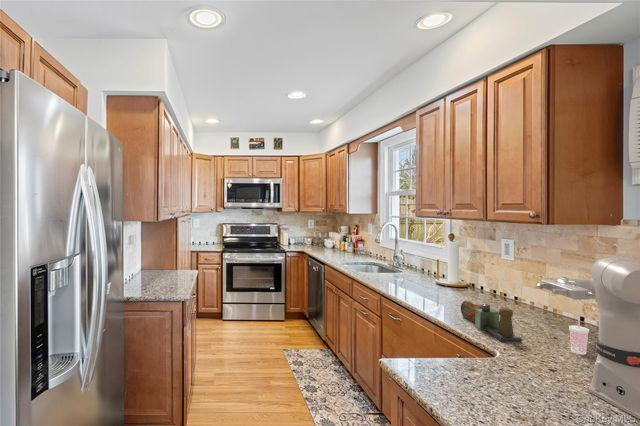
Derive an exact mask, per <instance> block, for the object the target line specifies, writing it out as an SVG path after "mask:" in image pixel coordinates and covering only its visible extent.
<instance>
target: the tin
mask: <svg viewBox="0 0 640 426" xmlns="http://www.w3.org/2000/svg"><path fill="white" fill-rule="evenodd" d="M476 309H481V304H478V303H475V302H473V301H471V300H470V301H469V300H464V301H463V302H461V305H460V312H461V315H462V317H463V318H464V319H466V320H468V321H471V322H472V323H475V310H476Z"/></svg>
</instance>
